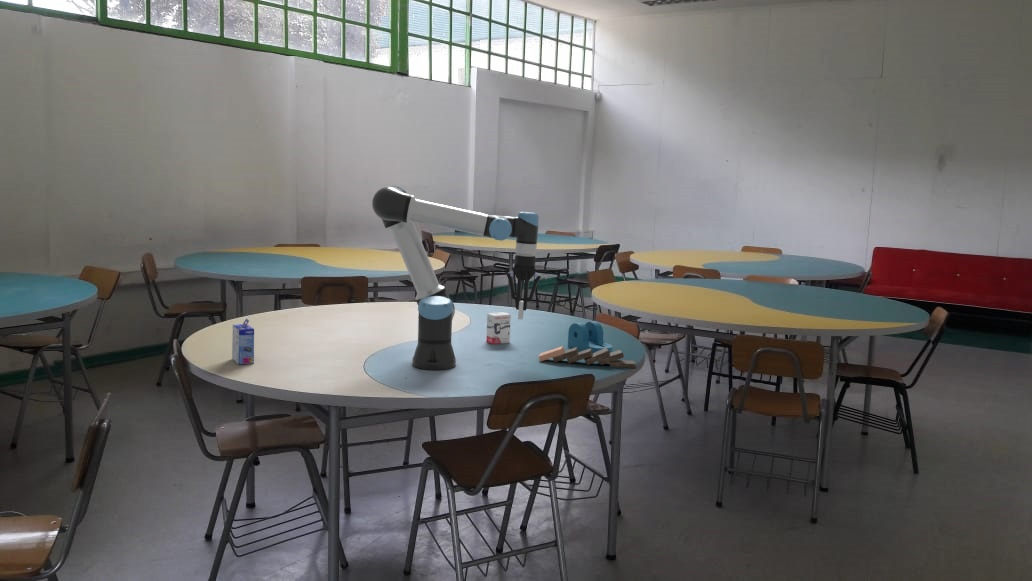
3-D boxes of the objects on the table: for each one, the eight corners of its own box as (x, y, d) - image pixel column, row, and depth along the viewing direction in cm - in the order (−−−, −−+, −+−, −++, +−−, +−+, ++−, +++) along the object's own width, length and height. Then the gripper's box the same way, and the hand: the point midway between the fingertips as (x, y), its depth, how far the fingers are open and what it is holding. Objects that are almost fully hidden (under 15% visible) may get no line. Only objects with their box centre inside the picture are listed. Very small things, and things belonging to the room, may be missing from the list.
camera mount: (567, 347, 301) (568, 321, 299) (588, 344, 307) (589, 319, 305) (596, 357, 286) (598, 330, 284) (617, 354, 292) (619, 327, 290)
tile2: (555, 359, 279) (578, 351, 277) (554, 362, 274) (577, 355, 272) (554, 354, 279) (576, 346, 277) (552, 357, 274) (575, 349, 272)
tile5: (598, 362, 277) (620, 354, 277) (600, 365, 272) (624, 357, 272) (596, 357, 277) (619, 349, 277) (599, 360, 272) (622, 352, 272)
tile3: (569, 360, 278) (592, 353, 276) (568, 363, 273) (592, 356, 272) (567, 355, 278) (590, 348, 276) (566, 358, 273) (590, 351, 271)
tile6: (608, 364, 277) (633, 365, 276) (609, 368, 272) (634, 369, 271) (608, 359, 276) (633, 360, 276) (609, 362, 271) (635, 363, 271)
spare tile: (542, 358, 280) (564, 350, 278) (540, 361, 275) (563, 353, 273) (540, 353, 280) (563, 345, 278) (538, 356, 275) (561, 348, 273)
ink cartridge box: (255, 363, 256) (254, 321, 254) (238, 365, 253) (237, 323, 251) (248, 357, 264) (247, 316, 262) (231, 358, 261) (231, 317, 259)
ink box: (492, 344, 300) (493, 315, 298) (485, 341, 304) (486, 313, 302) (510, 342, 304) (511, 313, 303) (503, 340, 308) (504, 311, 307)
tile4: (585, 362, 276) (608, 352, 276) (587, 365, 271) (610, 355, 271) (583, 357, 276) (606, 347, 276) (585, 360, 271) (608, 350, 271)
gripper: (544, 255, 275) (539, 318, 279) (509, 252, 277) (504, 315, 281) (541, 257, 268) (536, 322, 271) (506, 254, 270) (501, 318, 273)
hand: (520, 318), depth 276 cm, fingers closed
